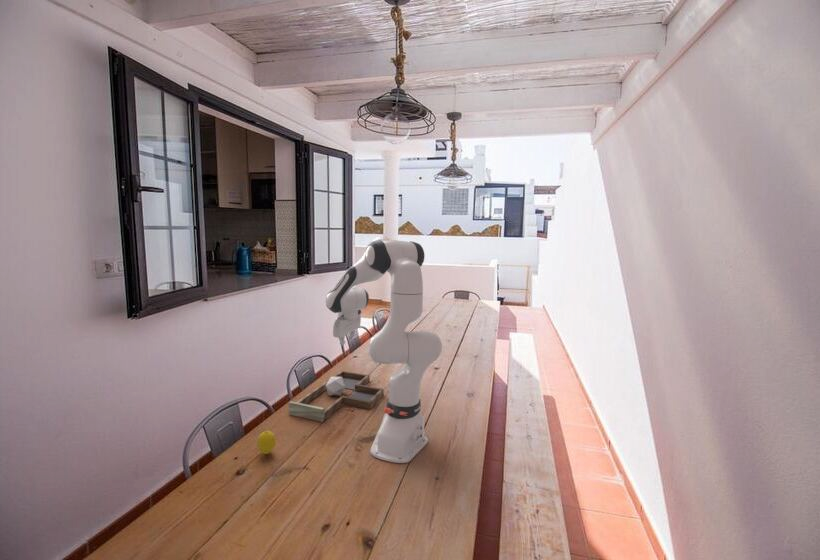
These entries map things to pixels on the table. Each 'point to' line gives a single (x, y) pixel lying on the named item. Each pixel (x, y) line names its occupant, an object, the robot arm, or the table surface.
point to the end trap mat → (350, 383)
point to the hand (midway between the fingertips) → (347, 342)
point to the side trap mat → (361, 396)
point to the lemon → (266, 442)
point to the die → (335, 386)
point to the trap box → (320, 414)
